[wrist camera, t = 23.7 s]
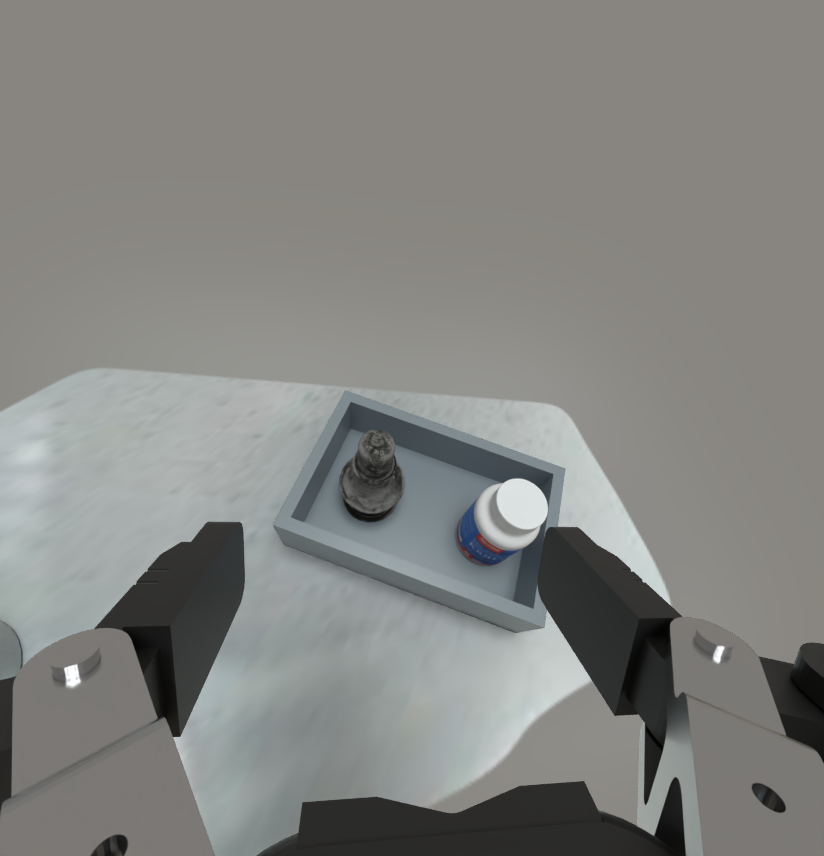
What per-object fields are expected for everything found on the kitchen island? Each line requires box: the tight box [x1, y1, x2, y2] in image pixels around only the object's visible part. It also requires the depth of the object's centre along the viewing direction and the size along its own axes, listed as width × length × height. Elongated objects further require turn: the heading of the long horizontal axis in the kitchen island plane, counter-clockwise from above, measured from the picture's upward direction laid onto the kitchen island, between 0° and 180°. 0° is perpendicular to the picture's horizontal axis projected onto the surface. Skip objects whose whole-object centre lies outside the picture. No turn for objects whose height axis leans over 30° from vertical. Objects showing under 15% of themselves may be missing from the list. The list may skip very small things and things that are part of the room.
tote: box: [273, 391, 565, 633], centre depth 36 cm, size 22×14×6 cm, turn 72°
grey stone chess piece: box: [339, 430, 405, 522], centre depth 33 cm, size 6×6×12 cm
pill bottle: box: [456, 479, 548, 566], centre depth 33 cm, size 6×5×10 cm
